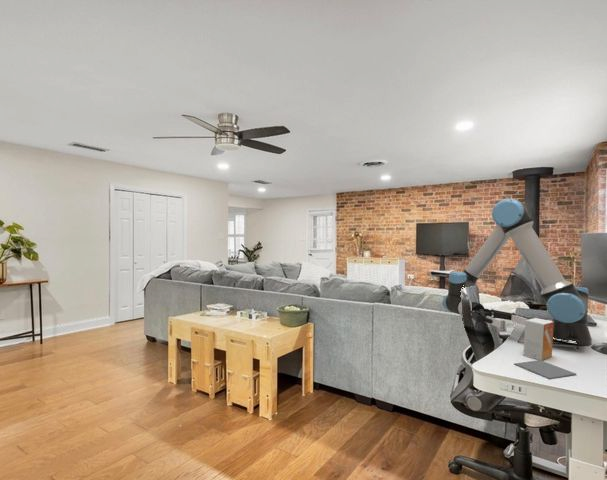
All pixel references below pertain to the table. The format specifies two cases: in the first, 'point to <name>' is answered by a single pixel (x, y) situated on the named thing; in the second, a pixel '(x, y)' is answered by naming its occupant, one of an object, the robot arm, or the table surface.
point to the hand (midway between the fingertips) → (513, 323)
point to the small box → (538, 338)
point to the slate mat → (545, 369)
